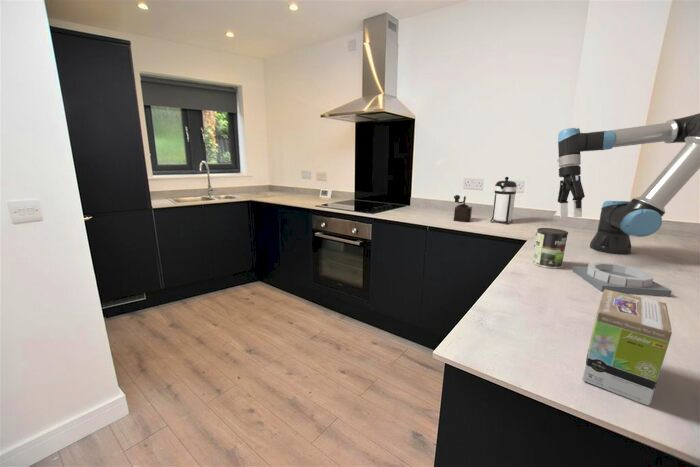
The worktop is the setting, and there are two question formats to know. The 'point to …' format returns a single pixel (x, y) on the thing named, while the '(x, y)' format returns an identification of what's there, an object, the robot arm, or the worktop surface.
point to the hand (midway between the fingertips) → (570, 217)
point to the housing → (621, 279)
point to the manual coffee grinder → (462, 211)
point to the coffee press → (504, 201)
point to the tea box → (628, 345)
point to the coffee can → (550, 247)
